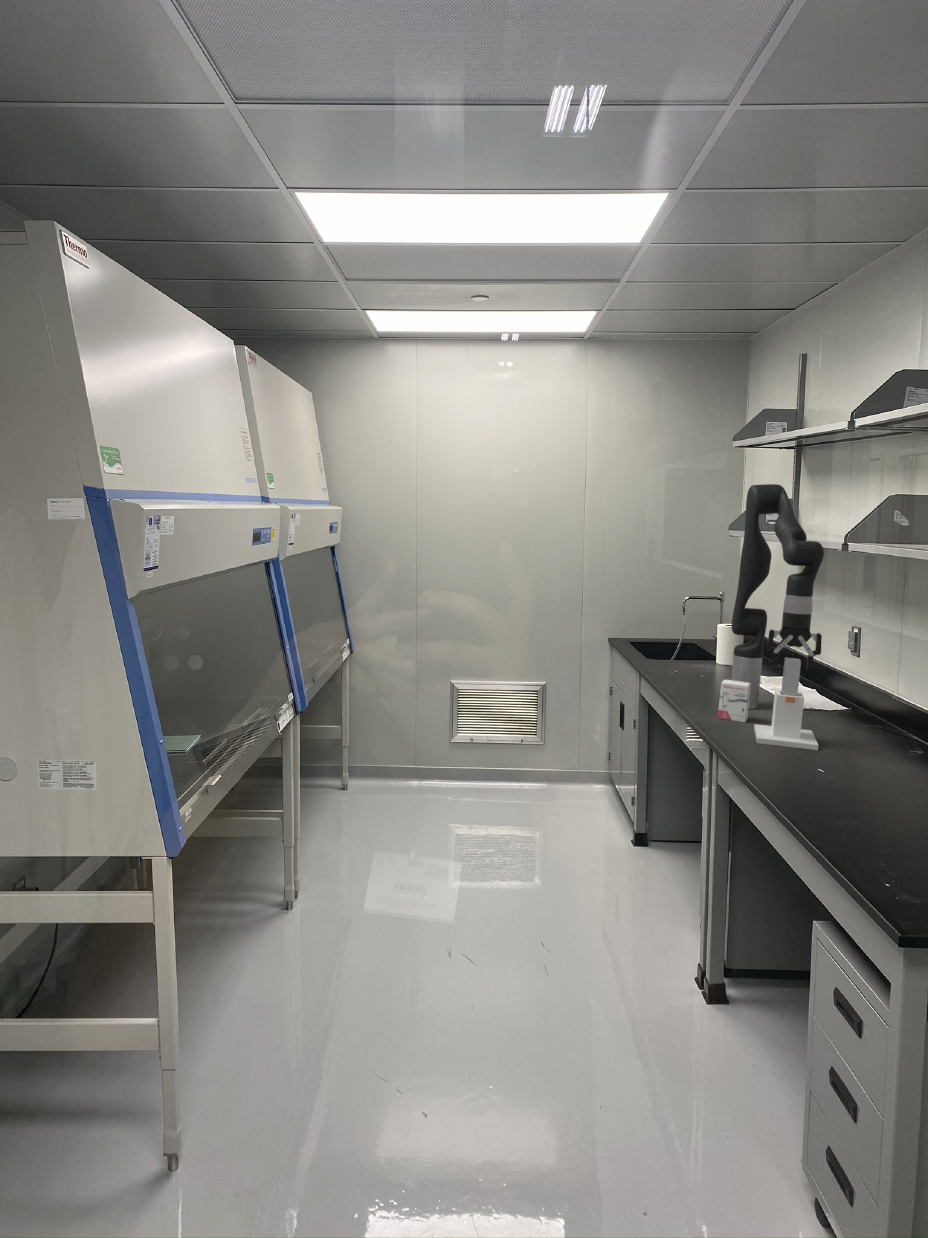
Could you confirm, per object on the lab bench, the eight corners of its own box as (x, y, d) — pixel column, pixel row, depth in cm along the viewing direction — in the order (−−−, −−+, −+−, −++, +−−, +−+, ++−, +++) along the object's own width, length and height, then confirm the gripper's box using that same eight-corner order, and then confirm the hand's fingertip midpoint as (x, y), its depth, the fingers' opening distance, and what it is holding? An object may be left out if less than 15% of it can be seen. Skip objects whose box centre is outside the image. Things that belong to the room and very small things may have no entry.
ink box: (716, 718, 256) (720, 681, 255) (719, 715, 261) (723, 679, 259) (745, 722, 252) (748, 685, 251) (747, 719, 257) (751, 682, 255)
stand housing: (754, 729, 245) (758, 685, 243) (811, 735, 241) (815, 691, 239) (757, 743, 230) (761, 696, 228) (817, 750, 226) (823, 703, 224)
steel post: (776, 731, 238) (784, 657, 235) (792, 732, 237) (799, 658, 233) (778, 734, 234) (785, 659, 231) (793, 736, 233) (801, 661, 229)
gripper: (822, 611, 232) (816, 667, 234) (769, 608, 236) (764, 662, 238) (826, 614, 225) (820, 672, 227) (771, 610, 229) (766, 667, 231)
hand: (791, 667), depth 232 cm, fingers open, 8 cm apart
